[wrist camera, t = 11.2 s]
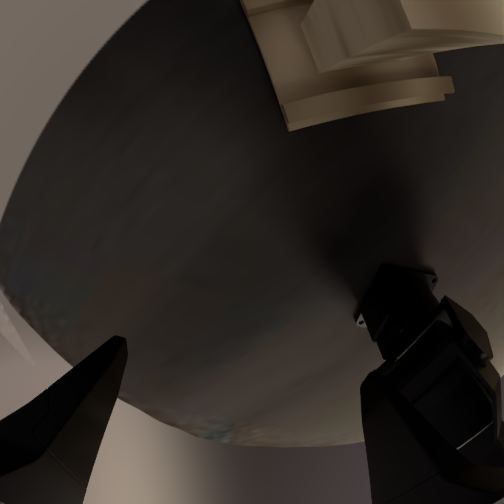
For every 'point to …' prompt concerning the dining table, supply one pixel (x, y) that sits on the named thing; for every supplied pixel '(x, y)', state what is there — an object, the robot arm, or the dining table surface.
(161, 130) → the dining table surface
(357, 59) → the wooden block
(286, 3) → the wooden tray
